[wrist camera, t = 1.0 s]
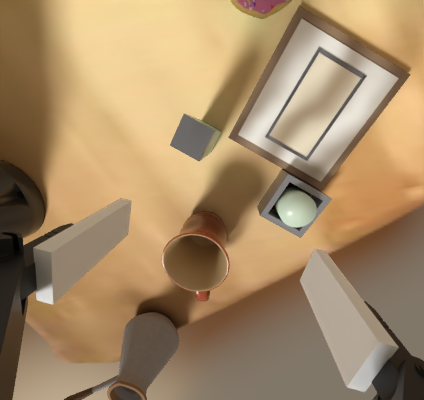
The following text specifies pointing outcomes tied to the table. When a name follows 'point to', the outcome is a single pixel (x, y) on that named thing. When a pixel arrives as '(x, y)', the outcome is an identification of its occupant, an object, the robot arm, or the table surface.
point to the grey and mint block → (195, 137)
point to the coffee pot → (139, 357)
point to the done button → (295, 207)
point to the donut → (260, 7)
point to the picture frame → (316, 99)
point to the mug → (198, 255)
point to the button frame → (274, 194)
